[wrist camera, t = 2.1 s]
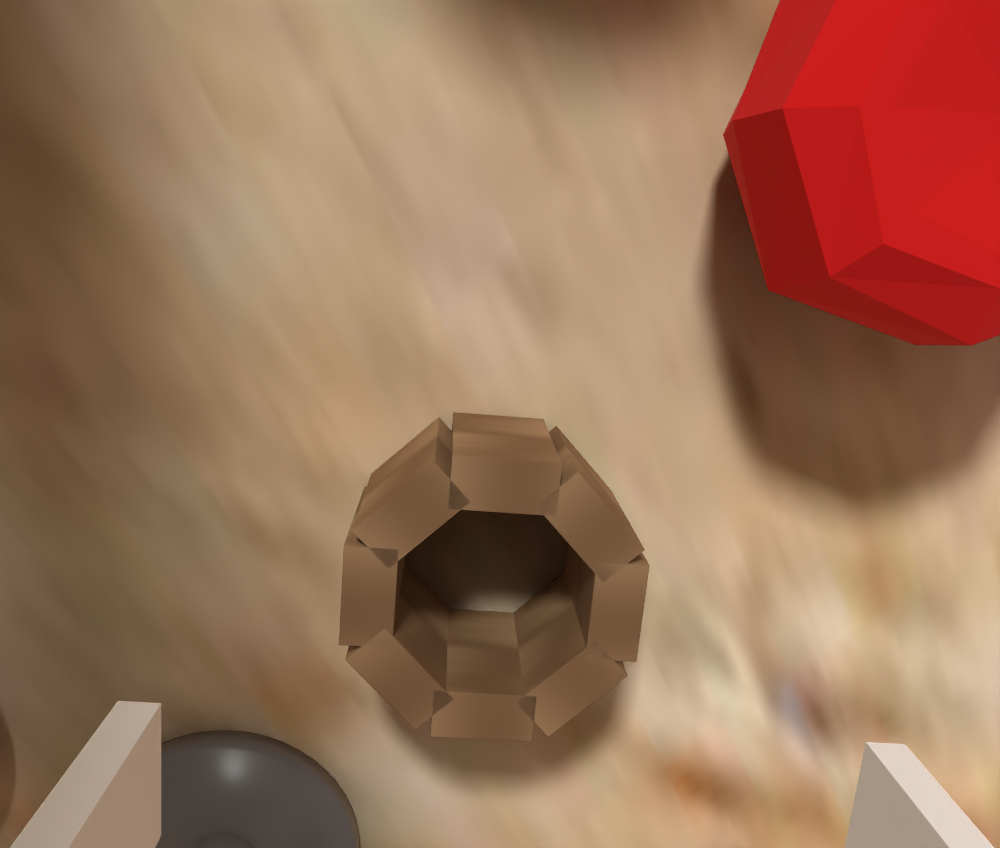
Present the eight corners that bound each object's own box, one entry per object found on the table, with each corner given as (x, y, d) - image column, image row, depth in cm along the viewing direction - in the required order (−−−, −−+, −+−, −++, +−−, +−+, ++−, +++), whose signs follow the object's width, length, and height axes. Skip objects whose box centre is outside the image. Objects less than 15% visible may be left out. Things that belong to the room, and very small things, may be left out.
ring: (369, 406, 26) (348, 448, 21) (625, 425, 27) (662, 471, 22) (356, 642, 28) (334, 731, 23) (596, 656, 28) (624, 746, 24)
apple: (1006, 328, 26) (1324, 391, 17) (670, 320, 26) (798, 379, 16) (1069, -45, 24) (1485, -227, 14) (700, -64, 23) (871, -265, 14)
